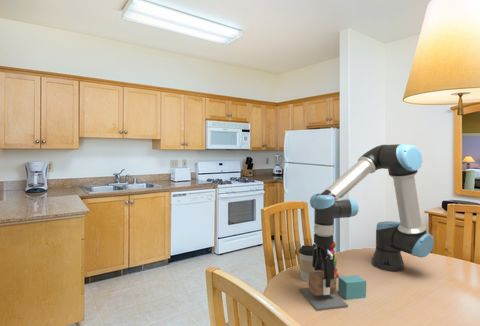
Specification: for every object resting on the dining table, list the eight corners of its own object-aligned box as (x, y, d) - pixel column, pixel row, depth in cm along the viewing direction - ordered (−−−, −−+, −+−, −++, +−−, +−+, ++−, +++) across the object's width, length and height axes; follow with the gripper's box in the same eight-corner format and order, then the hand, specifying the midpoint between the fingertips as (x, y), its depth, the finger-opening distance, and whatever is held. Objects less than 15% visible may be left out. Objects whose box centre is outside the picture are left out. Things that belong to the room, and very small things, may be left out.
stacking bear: (339, 278, 135) (340, 241, 134) (317, 276, 137) (317, 239, 136) (336, 269, 146) (337, 234, 145) (315, 267, 148) (316, 233, 147)
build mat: (326, 287, 126) (326, 285, 126) (347, 307, 110) (347, 305, 110) (299, 290, 123) (299, 288, 123) (316, 310, 108) (316, 308, 108)
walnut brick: (328, 286, 121) (328, 270, 120) (336, 293, 115) (336, 276, 114) (308, 288, 119) (308, 272, 118) (315, 295, 113) (315, 278, 112)
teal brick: (356, 290, 124) (357, 274, 123) (365, 297, 118) (366, 281, 117) (338, 292, 122) (338, 276, 121) (346, 300, 116) (346, 283, 116)
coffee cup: (320, 277, 136) (321, 246, 136) (314, 284, 129) (314, 251, 128) (302, 272, 141) (303, 242, 141) (295, 279, 134) (295, 247, 133)
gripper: (304, 228, 124) (303, 280, 125) (327, 241, 106) (325, 303, 107) (320, 227, 126) (319, 279, 127) (345, 240, 107) (343, 301, 108)
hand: (322, 290), depth 117 cm, fingers closed on walnut brick, 6 cm apart
